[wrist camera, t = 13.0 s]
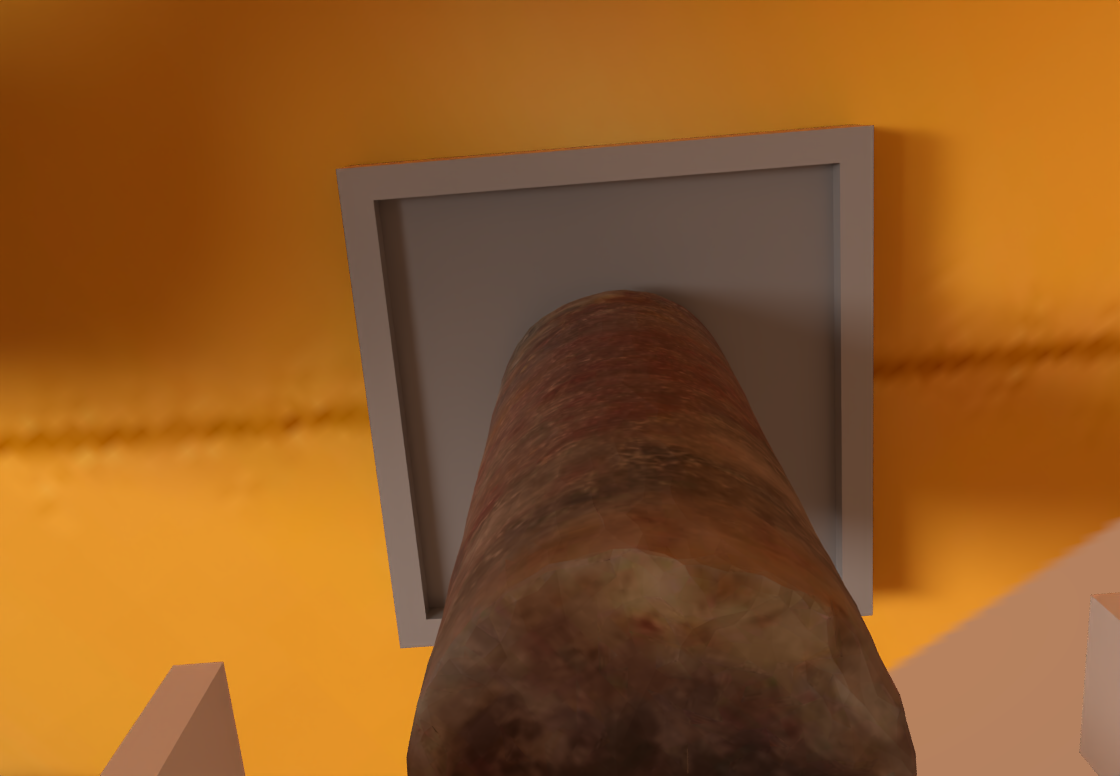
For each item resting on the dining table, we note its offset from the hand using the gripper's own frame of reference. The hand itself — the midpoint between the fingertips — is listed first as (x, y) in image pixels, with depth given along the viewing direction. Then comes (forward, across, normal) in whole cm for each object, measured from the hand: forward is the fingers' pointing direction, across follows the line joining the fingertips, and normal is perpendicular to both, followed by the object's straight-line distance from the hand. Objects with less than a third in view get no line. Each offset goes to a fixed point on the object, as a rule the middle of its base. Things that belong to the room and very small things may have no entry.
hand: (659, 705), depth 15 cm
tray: (+20, +1, 0) cm, 20 cm away
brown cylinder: (+18, 0, 0) cm, 18 cm away
